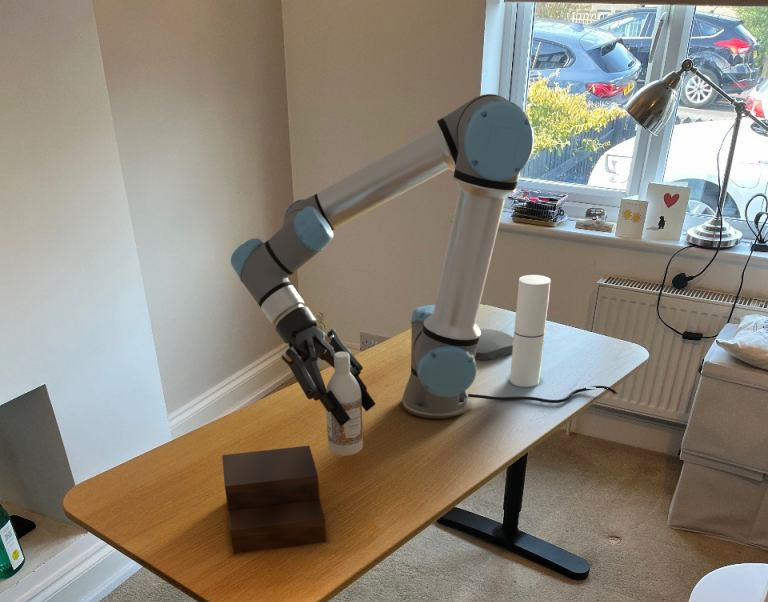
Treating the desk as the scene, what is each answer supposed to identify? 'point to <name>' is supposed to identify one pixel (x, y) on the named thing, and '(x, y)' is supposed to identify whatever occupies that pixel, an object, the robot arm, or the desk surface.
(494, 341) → the media streaming box
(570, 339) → the desk surface
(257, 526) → the stepped brown block
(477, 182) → the robot arm
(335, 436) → the bath foam
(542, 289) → the cylindrical container
